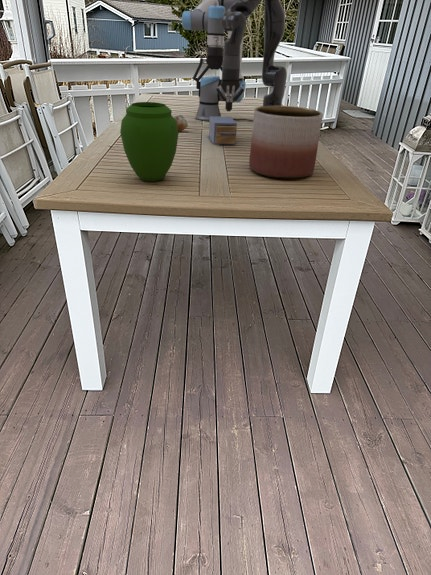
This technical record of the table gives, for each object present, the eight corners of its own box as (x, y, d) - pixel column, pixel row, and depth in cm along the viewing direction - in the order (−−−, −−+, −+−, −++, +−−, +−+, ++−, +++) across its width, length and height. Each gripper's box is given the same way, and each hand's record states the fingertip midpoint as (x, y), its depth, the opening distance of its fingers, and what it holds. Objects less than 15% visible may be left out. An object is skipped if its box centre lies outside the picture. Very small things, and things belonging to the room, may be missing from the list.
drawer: (237, 146, 190) (238, 128, 186) (217, 146, 188) (218, 128, 184) (229, 136, 206) (230, 120, 202) (211, 136, 205) (212, 120, 201)
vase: (131, 189, 135) (125, 110, 122) (118, 172, 150) (112, 100, 137) (186, 184, 142) (187, 109, 129) (169, 168, 157) (167, 99, 144)
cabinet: (235, 144, 197) (236, 123, 192) (213, 144, 195) (214, 122, 190) (229, 136, 210) (230, 116, 205) (209, 136, 209) (209, 116, 204)
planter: (323, 180, 153) (335, 117, 141) (257, 181, 149) (264, 116, 137) (300, 162, 174) (309, 106, 162) (242, 162, 170) (247, 104, 158)
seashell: (187, 130, 219) (187, 114, 215) (188, 132, 214) (188, 116, 210) (169, 129, 218) (169, 113, 214) (170, 131, 213) (169, 115, 209)
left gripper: (188, 45, 183) (187, 97, 194) (243, 48, 185) (239, 99, 196) (188, 44, 189) (187, 95, 200) (241, 47, 191) (238, 97, 202)
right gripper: (217, 67, 170) (215, 112, 179) (248, 68, 172) (244, 112, 181) (214, 66, 176) (212, 109, 186) (244, 67, 178) (241, 110, 188)
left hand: (213, 97), depth 198 cm, fingers open, 13 cm apart
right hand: (228, 111), depth 183 cm, fingers closed
